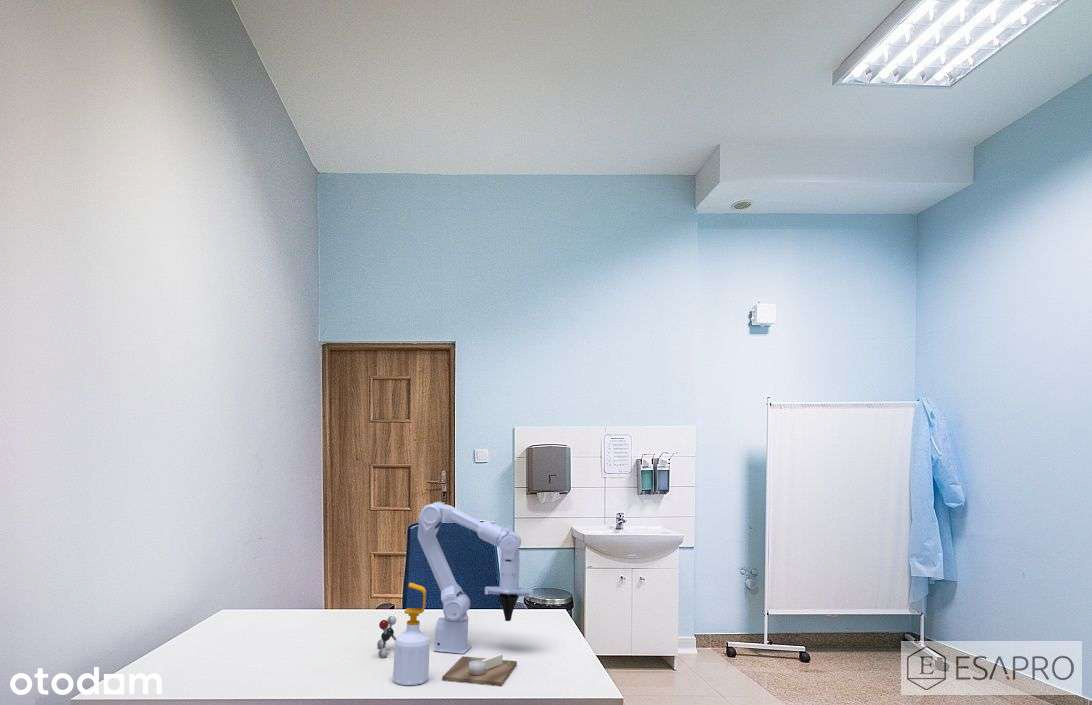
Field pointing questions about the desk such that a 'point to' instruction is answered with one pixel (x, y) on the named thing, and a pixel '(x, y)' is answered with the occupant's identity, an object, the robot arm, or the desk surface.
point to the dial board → (491, 675)
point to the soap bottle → (412, 649)
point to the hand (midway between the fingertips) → (508, 620)
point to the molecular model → (386, 635)
